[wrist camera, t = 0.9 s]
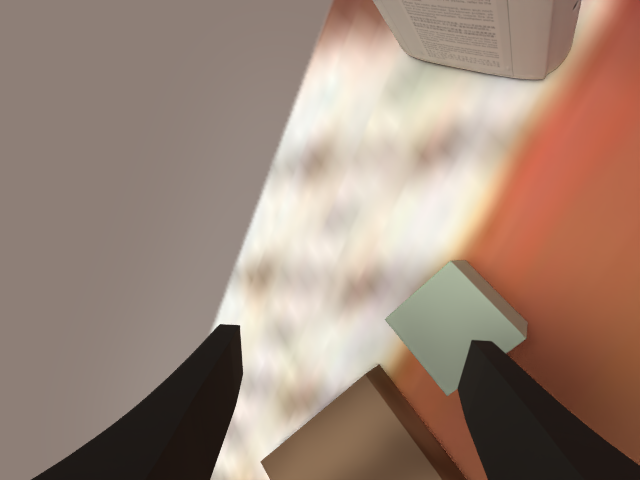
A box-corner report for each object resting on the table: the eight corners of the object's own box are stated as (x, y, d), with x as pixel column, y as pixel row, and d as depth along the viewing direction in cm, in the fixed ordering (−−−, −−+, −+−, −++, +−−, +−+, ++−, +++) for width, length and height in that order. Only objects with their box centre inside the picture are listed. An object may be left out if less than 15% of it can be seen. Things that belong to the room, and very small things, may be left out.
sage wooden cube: (527, 322, 21) (526, 338, 17) (462, 370, 23) (447, 396, 19) (465, 260, 23) (450, 260, 19) (410, 308, 25) (384, 319, 21)
